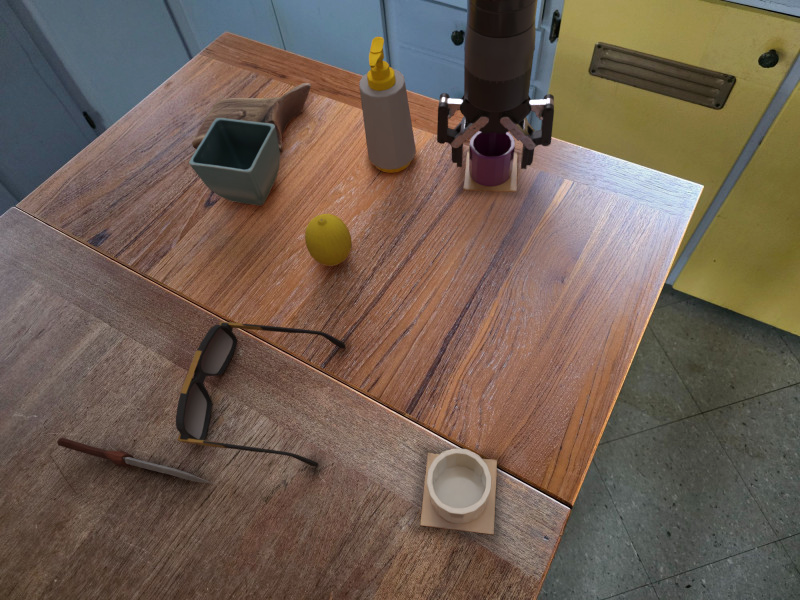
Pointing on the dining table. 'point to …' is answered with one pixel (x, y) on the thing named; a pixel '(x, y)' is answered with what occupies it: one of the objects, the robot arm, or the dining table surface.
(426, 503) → the near coaster
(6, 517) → the dining table surface
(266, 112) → the fragment
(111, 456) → the knife
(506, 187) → the far coaster
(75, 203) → the dining table surface
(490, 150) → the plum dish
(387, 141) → the soap bottle
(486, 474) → the cream dish
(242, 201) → the flower pot
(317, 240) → the lemon
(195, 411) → the sunglasses
